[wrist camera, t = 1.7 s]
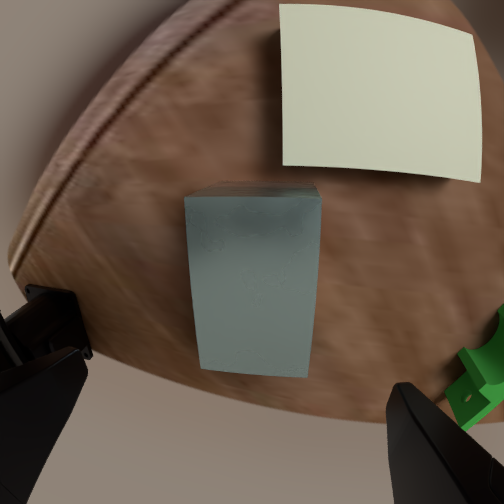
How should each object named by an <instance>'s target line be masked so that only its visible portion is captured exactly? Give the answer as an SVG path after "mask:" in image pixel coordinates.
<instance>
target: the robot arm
mask: <svg viewBox="0 0 504 504" xmlns="http://www.w3.org/2000/svg"><path fill="white" fill-rule="evenodd" d="M25 292H26V296H27V299H28V303H26V304H25V305H24V306H22V307H21V308H20V309H18V310H16V311H15V312H14V313H12V314H11V315H9V316H8V317H7V318H6V319H3V317H2V315H1V313H0V504H27V501H28V499H29V497H30V495H31V492H32V490H33V488H34V486H35V483H36V481H37V479H38V477H39V475H40V473H41V471H42V469H43V467H44V465H45V463H46V460H47V459H48V457H49V455H50V453H51V451H52V449H53V447H54V445H55V443H56V441H57V439H58V437H59V435H60V434H61V432H62V430H63V428H64V426H65V424H66V422H67V421H68V419H69V417H70V414H71V413H72V410H73V408H74V406H75V404H76V401H77V399H78V397H79V394H80V392H81V390H82V387H83V385H84V383H85V381H86V379H87V376H88V369H87V366H86V363H85V361H84V359H87V360H90V359H91V358H92V357H93V353H92V350H91V347H90V344H89V341H88V338H87V334H86V331H85V328H84V324H83V321H82V317H81V314H80V310H79V307H78V303H77V299H76V296H75V294H74V293H73V292H72V291H68V290H62V289H56V288H49V287H43V286H38V285H32V284H28V285H26V286H25ZM0 311H1V310H0ZM386 421H387V439H388V460H389V468H390V474H391V482H392V488H393V497H394V504H504V466H503V465H502V464H500V463H499V462H498V461H497V460H496V459H495V458H492V456H491V455H490V454H489V453H488V452H487V451H486V450H485V449H484V448H483V447H482V446H481V445H479V444H478V443H477V442H476V441H475V440H474V439H473V438H472V437H471V436H469V435H468V434H467V433H466V432H465V431H464V430H463V429H462V428H461V427H460V426H458V425H457V424H456V423H455V422H454V421H453V420H452V419H451V418H450V417H449V416H447V415H446V414H445V413H444V412H443V411H442V410H441V409H440V408H439V407H437V406H436V405H435V404H434V403H433V402H432V401H431V400H430V399H428V398H427V397H426V396H425V395H424V394H423V393H422V392H421V391H420V390H418V389H417V388H416V387H415V386H414V385H413V384H412V383H410V382H400V383H396V384H395V385H394V386H393V389H392V392H391V394H390V397H389V400H388V402H387V406H386Z"/></svg>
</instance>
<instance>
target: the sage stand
mask: <svg viewBox="0 0 504 504" xmlns="http://www.w3.org/2000/svg"><path fill="white" fill-rule="evenodd" d="M279 9H280V34H281V65H282V114H283V165H287V166H320V167H341V168H357V169H371V170H383V171H394V172H404V173H413V174H422V175H430V176H438V177H446V178H453V179H460V180H466V181H472V182H478V183H480V179H481V160H482V116H481V98H480V86H479V76H478V68H477V60H476V54H475V47H474V42H473V36H472V35H471V34H468V33H465V32H462V31H459V30H456V29H453V28H450V27H447V26H443V25H440V24H436V23H433V22H429V21H425V20H421V19H417V18H412V17H408V16H403V15H398V14H393V13H388V12H382V11H376V10H369V9H361V8H353V7H343V6H331V5H312V4H279Z"/></svg>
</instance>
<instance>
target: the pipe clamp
mask: <svg viewBox="0 0 504 504" xmlns="http://www.w3.org/2000/svg"><path fill="white" fill-rule="evenodd" d="M498 313H499V317H500V320H499V326H498V329H497V331H496V333H495V334H494V336H493V337H492V339H491V340H490V341H489V342H488V343H486V344H485V345H484V346H482V347H480V348H478V349H474V350H469V349H466V348H465V347H463V348H462V349H461V350H460V351H459V352H458V353H457V354H458V356H459V358H460V359H461V361H462V363H463V364H464V366H465V368H466V369H467V371H466V372H465V373H464V374H463V375H462V376H461V377H459V378H458V379H457V380H456V381H455V382H454V383H453V384H452V385H450V386H449V387H448V388H447V389H446V390H445V391H444V392H445V394H446V397H447V399H448V401H449V403H450V406H451V408H452V410H453V413H454V415H455V418H456V420H457V422H458V425H459V426H460V427H461V428H462V429H463V430H464V431H465V432H466V431H467V430H468V429H469V428H470V427H472V426H473V425H474V424H476V423H477V422H478V421H479V420H481V419H482V418H483V417H484V416H485V415H487V414H488V413H489V412H490V411H491V410H492V409H494V408H495V407H496V406H497V405H498V404H499V403H500V402H501V401H502V400H504V303H503V305H502V306H501V307H500V308H499V309H498ZM471 394H472V396H471V398H470V400H469V401H467V402H466V399H467V398H468V396H470V395H471Z"/></svg>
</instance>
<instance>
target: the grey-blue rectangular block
mask: <svg viewBox="0 0 504 504" xmlns="http://www.w3.org/2000/svg"><path fill="white" fill-rule="evenodd" d="M184 202H185V219H186V233H187V247H188V259H189V270H190V281H191V291H192V301H193V310H194V319H195V328H196V336H197V344H198V351H199V359H200V366H201V369H207V370H215V371H224V372H233V373H243V374H255V375H268V376H283V377H305V378H307V376H308V368H309V360H310V352H311V343H312V333H313V324H314V313H315V302H316V290H317V278H318V263H319V247H320V229H321V205H322V198H321V196H320V194H319V192H318V190H317V188H316V186H315V184H314V182H296V181H221V182H218V183H216V184H214V185H211V186H209V187H206V188H204V189H202V190H199V191H197V192H195V193H193V194H190V195H188V196H186V197H184Z"/></svg>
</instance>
